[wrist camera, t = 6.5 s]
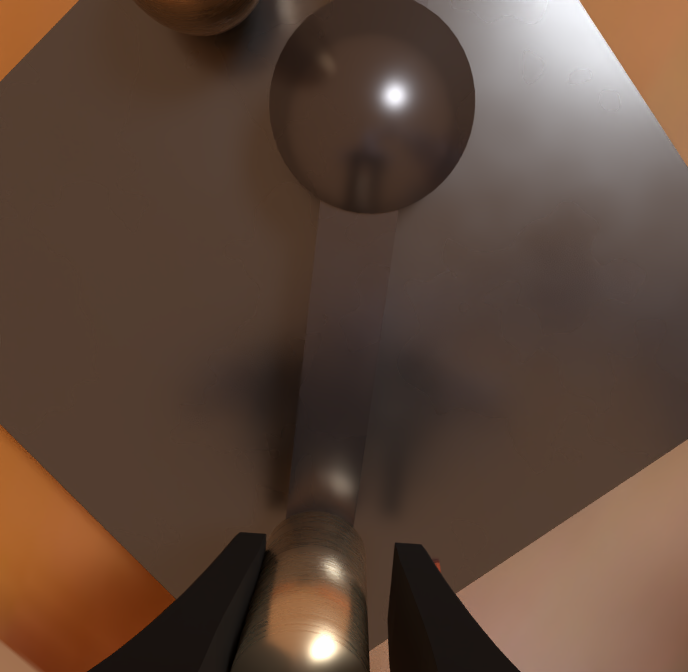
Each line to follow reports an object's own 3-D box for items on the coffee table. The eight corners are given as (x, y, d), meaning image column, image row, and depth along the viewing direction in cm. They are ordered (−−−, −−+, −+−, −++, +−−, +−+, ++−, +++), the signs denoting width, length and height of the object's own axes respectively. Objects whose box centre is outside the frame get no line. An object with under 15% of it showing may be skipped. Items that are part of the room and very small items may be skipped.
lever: (300, -162, 9) (252, -498, 5) (507, -136, 9) (638, -448, 5) (236, 566, 13) (175, 739, 8) (389, 585, 13) (406, 767, 8)
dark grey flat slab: (770, 345, 13) (958, 397, 9) (289, 671, 16) (266, 827, 12) (375, -249, 11) (387, -549, 7) (-122, 253, 13) (-338, 264, 9)
